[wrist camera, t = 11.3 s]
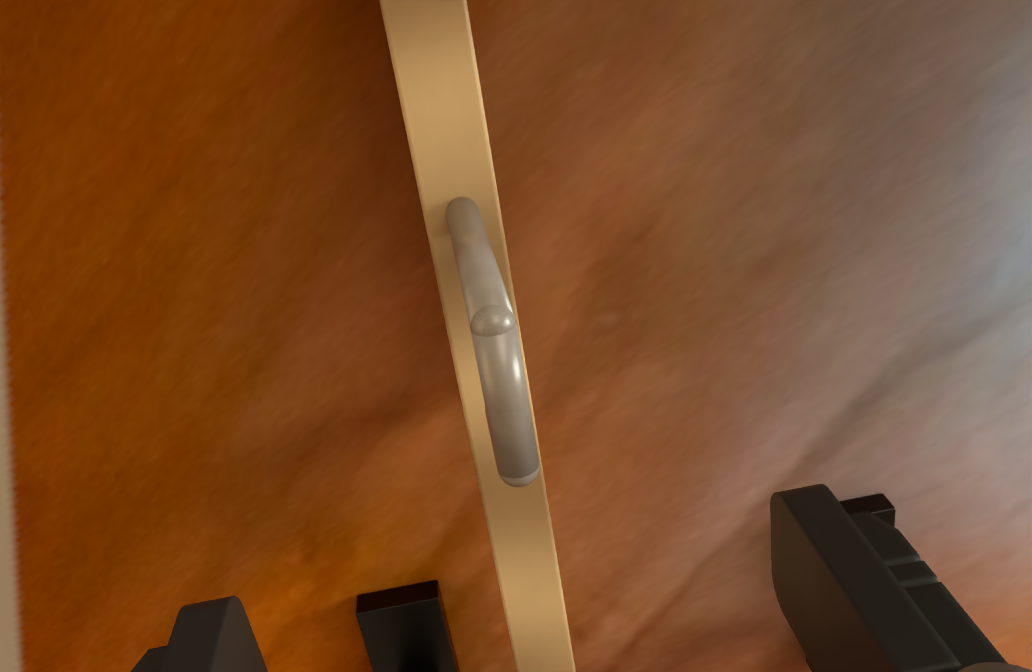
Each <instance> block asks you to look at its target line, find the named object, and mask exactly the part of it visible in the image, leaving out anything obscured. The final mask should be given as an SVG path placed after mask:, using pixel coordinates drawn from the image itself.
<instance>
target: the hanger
mask: <svg viewBox="0 0 1032 672" xmlns="http://www.w3.org/2000/svg"><path fill="white" fill-rule="evenodd" d="M379 1H380V6H381V11H382V16H383V21H384V26H385V30H386V35H387V40H388V45H389V50H390V55H391V60H392V65H393V70H394V74H395V79H396V84H397V89H398V94H399V99H400V104H401V109H402V114H403V118H404V123H405V128H406V133H407V138H408V143H409V148H410V153H411V158H412V162H413V167H414V172H415V177H416V182H417V187H418V192H419V197H420V202H421V206H422V211H423V216H424V221H425V226H426V231H427V236H428V241H429V246H430V250H431V255H432V260H433V265H434V270H435V275H436V280H437V285H438V290H439V294H440V299H441V304H442V309H443V314H444V319H445V324H446V329H447V334H448V338H449V343H450V348H451V353H452V358H453V363H454V368H455V373H456V377H457V382H458V387H459V392H460V397H461V402H462V407H463V412H464V417H465V421H466V426H467V431H468V436H469V441H470V446H471V451H472V456H473V461H474V465H475V470H476V475H477V480H478V485H479V490H480V495H481V500H482V505H483V509H484V514H485V519H486V524H487V529H488V534H489V539H490V544H491V549H492V553H493V558H494V563H495V568H496V573H497V578H498V583H499V588H500V593H501V597H502V602H503V607H504V612H505V617H506V622H507V627H508V632H509V637H510V641H511V646H512V651H513V656H514V661H515V666H516V671H517V672H576V671H575V664H574V658H573V652H572V646H571V640H570V634H569V628H568V621H567V615H566V609H565V603H564V597H563V591H562V585H561V578H560V572H559V566H558V560H557V554H556V548H555V542H554V535H553V529H552V523H551V517H550V511H549V505H548V499H547V492H546V486H545V480H544V474H543V468H542V462H541V456H540V449H539V443H538V437H537V431H536V425H535V419H534V413H533V406H532V400H531V394H530V388H529V382H528V376H527V369H526V363H525V357H524V351H523V345H522V339H521V333H520V326H519V320H518V314H517V308H516V302H515V296H514V290H513V283H512V277H511V271H510V265H509V259H508V253H507V247H506V240H505V234H504V228H503V222H502V216H501V210H500V204H499V197H498V191H497V185H496V179H495V173H494V167H493V161H492V154H491V148H490V142H489V136H488V130H487V124H486V118H485V111H484V105H483V99H482V93H481V87H480V81H479V75H478V68H477V62H476V56H475V50H474V44H473V38H472V32H471V25H470V19H469V13H468V7H467V1H466V0H379Z"/></svg>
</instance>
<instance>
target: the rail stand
mask: <svg viewBox="0 0 1032 672" xmlns="http://www.w3.org/2000/svg"><path fill="white" fill-rule="evenodd" d="M839 503H840V504H841V505H842V507H843V508H844V509H845V511H846V512H847V513H848V514H853V513H858V512H863V511H868V512H870V513H872V514H873V515H875V516H877V517H878V518H880V519H881V520H883V521H885V522H886V523H888V524H890V525H891V526H893V527H894V525H895V507H894V506H893V505H892V504H891V503H890V501H889V500H888V499H887V498H886V497H885V495H884V494H876V495H871V496H866V497H861V498H856V499H850V500H845V501H840V502H839ZM356 616H357V619H358V623H359V626H360V629H361V632H362V636H363V639H364V642H365V646H366V649H367V652H368V655H369V659H370V662H371V665H372V669H373V672H460V670H459V666H458V662H457V658H456V654H455V650H454V646H453V642H452V637H451V633H450V629H449V625H448V621H447V617H446V613H445V609H444V605H443V600H442V596H441V592H440V588H439V584H438V581H437V580H433V581H428V582H423V583H418V584H413V585H408V586H402V587H397V588H392V589H387V590H382V591H377V592H372V593H367V594H361V595H358V596H357V607H356ZM806 662H807V664H808V666H809V667H810V669H811V671H812V672H815V670H814V668H813V667H812V665H811V663H810V661H809V659H808V658H807V656H806Z"/></svg>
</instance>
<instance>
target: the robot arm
mask: <svg viewBox="0 0 1032 672" xmlns="http://www.w3.org/2000/svg"><path fill="white" fill-rule="evenodd" d="M770 511H771V561H772V578H773V584H774V588H775V592H776V596H777V599H778V602H779V605H780V607H781V609H782V612H783V614H784V616H785V618H786V619H787V621H788V623H789V625H790V627H791V628H792V630H793V632H794V634H795V636H796V638H797V639H798V641H799V643H800V645H801V647H802V648H803V650H804V652H805V654H806V656H807V658H808V659H809V661H810V663H811V665H812V667H813V668H814V670H815V672H1032V671H1031V670H1029V669H1026V668H1023V667H1020V666H1016V665H1012V664H1008V663H1007V662H1006V661H1005V660H1004V658H1003V657H1002V656H1001V655H1000V654H999V652H998V651H997V650H996V649H995V647H994V646H993V645H992V644H991V643H990V641H989V640H988V639H987V638H986V636H985V635H984V634H983V633H982V632H981V630H980V629H979V628H978V627H977V625H976V624H975V623H974V622H973V621H972V619H971V618H970V617H969V616H968V614H967V613H966V612H965V611H964V609H963V608H962V607H961V606H960V605H959V603H958V602H957V601H956V600H955V598H954V597H953V596H952V595H951V594H950V592H949V591H948V590H947V589H946V587H945V586H944V585H943V584H942V583H941V582H938V581H937V576H936V575H935V574H934V573H933V572H932V570H931V569H930V568H929V567H928V565H927V564H926V563H925V562H924V561H921V560H920V557H919V554H918V553H917V552H916V551H915V549H914V548H913V547H912V546H911V545H910V543H909V542H908V541H907V540H906V538H905V537H904V536H903V535H902V534H901V532H900V531H899V530H898V529H896V528H894V527H893V526H891V525H890V524H888V523H886V522H885V521H883V520H881V519H880V518H878V517H877V516H875V515H873V514H872V513H870V512H868V511H863V512H858V513H853V514H848V513H847V512H846V511H845V509H844V508H843V507H842V505H841V504H840V503H839V501H838V500H837V499H836V497H835V496H834V495H833V493H832V492H831V491H830V490H829V488H828V487H827V486H825V485H824V484H817V485H812V486H807V487H802V488H797V489H791V490H786V491H781V492H776V493H773V495H772V497H771V502H770ZM131 672H268V671H267V668H266V665H265V663H264V660H263V657H262V655H261V652H260V650H259V647H258V644H257V642H256V639H255V636H254V634H253V631H252V628H251V626H250V623H249V621H248V618H247V615H246V613H245V610H244V607H243V605H242V603H241V601H240V600H239V598H238V597H236V596H231V597H226V598H220V599H215V600H210V601H205V602H200V603H195V604H189V605H185V606H183V607H182V608H181V609H180V611H179V613H178V615H177V618H176V621H175V625H174V628H173V631H172V634H171V637H170V640H169V643H168V646H163V647H158V648H153V649H149V650H148V651H147V652H146V653H145V655H144V656H143V657H142V658H141V660H140V661H139V662H138V663H137V665H136V666H135V667H134V668H133V670H132V671H131Z"/></svg>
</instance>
